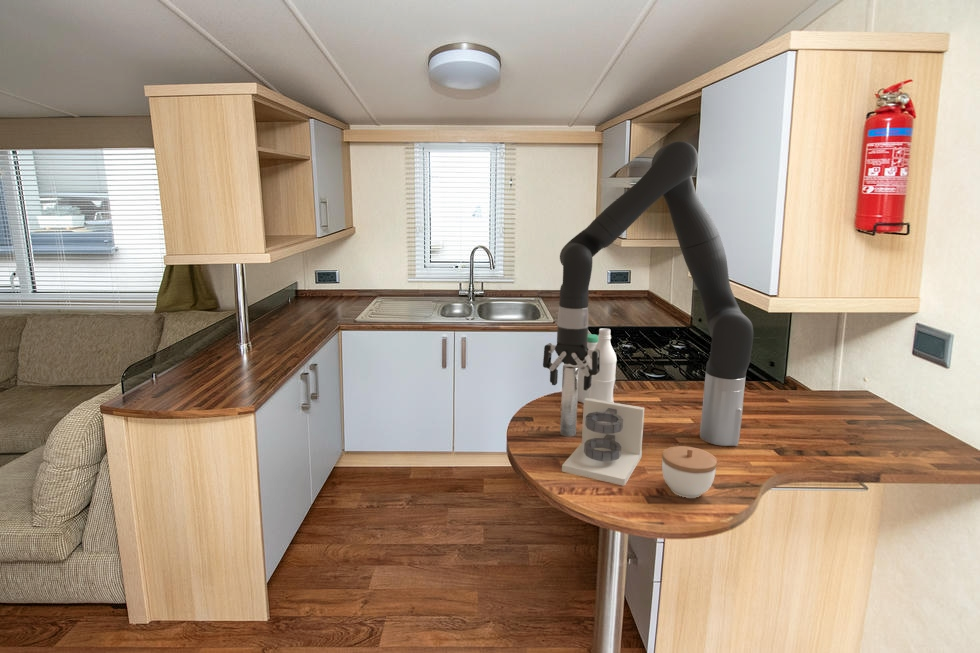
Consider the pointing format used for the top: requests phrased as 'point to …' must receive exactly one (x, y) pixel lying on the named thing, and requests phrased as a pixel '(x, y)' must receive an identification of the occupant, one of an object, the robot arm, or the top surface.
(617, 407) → the tube holder
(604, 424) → the collars
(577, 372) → the steel tube
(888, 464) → the top surface
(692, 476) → the lidded jar
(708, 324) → the robot arm
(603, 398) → the water bottle
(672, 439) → the top surface
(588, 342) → the milk bottle
